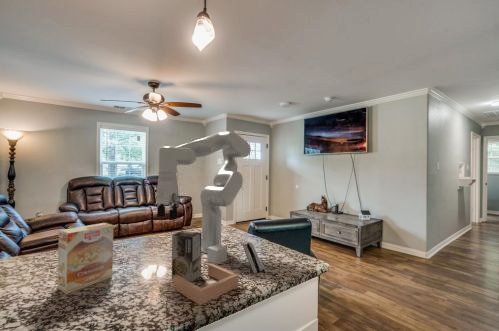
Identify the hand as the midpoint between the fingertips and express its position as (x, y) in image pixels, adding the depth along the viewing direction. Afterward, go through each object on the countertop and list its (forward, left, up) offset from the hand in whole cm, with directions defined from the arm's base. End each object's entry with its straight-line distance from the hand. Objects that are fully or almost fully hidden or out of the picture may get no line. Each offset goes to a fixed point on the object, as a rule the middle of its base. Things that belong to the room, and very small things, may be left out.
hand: (166, 217), depth 102 cm
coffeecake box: (-7, -27, -20) cm, 34 cm away
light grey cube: (+10, +18, -20) cm, 29 cm away
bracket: (+26, 0, -20) cm, 33 cm away
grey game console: (+24, +26, -20) cm, 41 cm away
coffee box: (+14, 0, -20) cm, 25 cm away
